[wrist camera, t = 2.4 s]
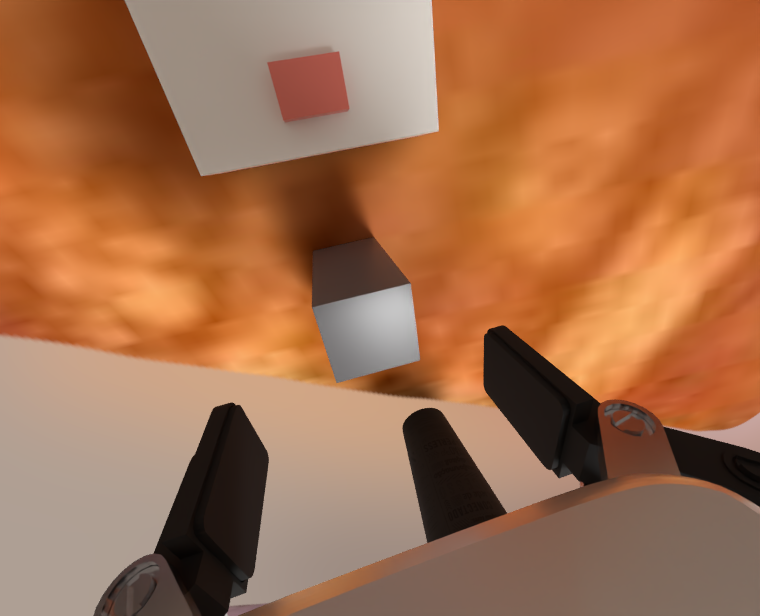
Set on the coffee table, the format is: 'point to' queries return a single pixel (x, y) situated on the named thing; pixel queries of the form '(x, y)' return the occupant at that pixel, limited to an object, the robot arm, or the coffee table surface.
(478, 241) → the coffee table surface
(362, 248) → the plug
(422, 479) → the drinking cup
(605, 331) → the coffee table surface
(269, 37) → the power strip
